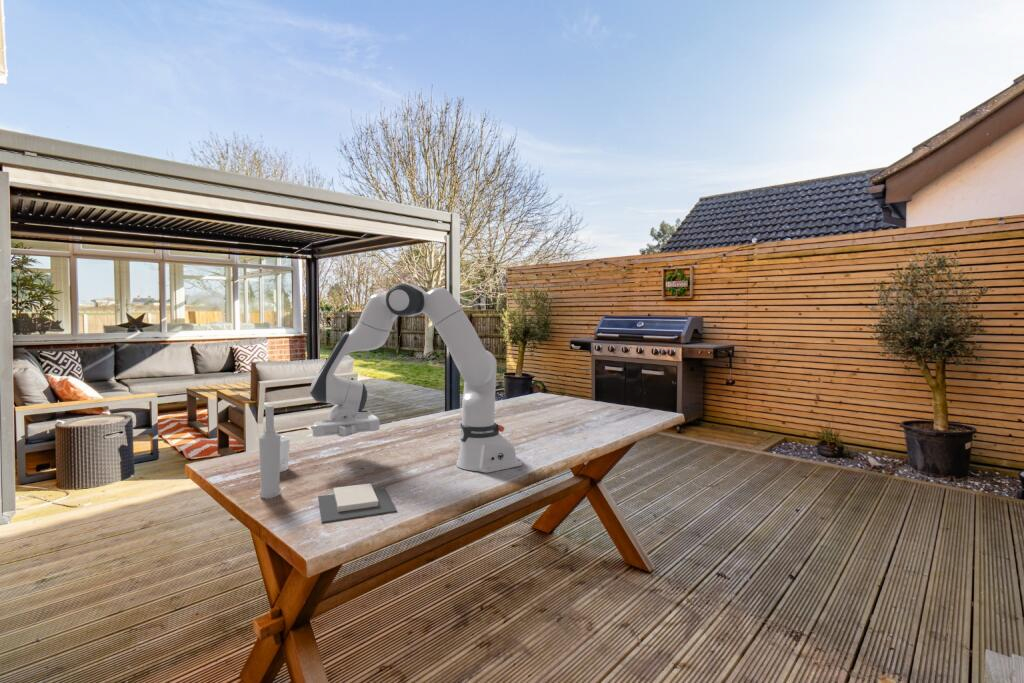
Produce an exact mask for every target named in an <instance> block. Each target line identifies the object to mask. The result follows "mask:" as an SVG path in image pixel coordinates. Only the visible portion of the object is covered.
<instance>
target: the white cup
mask: <svg viewBox="0 0 1024 683" xmlns="http://www.w3.org/2000/svg"><path fill="white" fill-rule="evenodd" d="M290 443H291V437H289V436H286V435H283V436H282V435H280V473H283V472H285V471H287V470H289V460H290V451H291V450H290V446H291V444H290Z"/></svg>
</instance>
